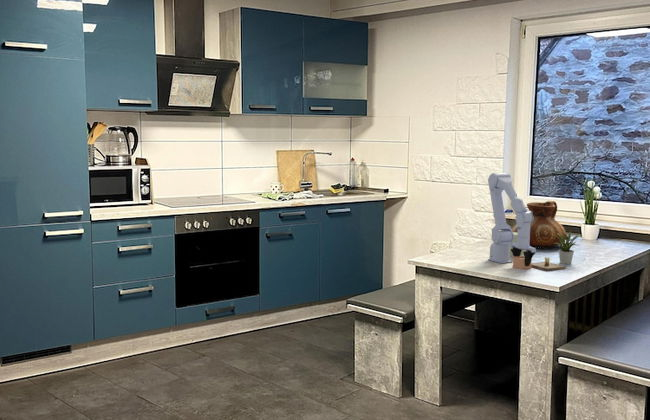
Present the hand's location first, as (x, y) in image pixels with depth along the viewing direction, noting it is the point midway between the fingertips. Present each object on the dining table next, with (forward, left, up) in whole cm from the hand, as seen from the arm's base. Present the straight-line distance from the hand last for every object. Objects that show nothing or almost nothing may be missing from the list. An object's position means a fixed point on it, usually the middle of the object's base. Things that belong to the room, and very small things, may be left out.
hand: (522, 264), depth 315 cm
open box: (0, 0, -1) cm, 1 cm away
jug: (-39, +50, -2) cm, 63 cm away
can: (-23, +19, -2) cm, 30 cm away
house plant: (+3, +27, -2) cm, 27 cm away
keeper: (+5, +11, -1) cm, 12 cm away
